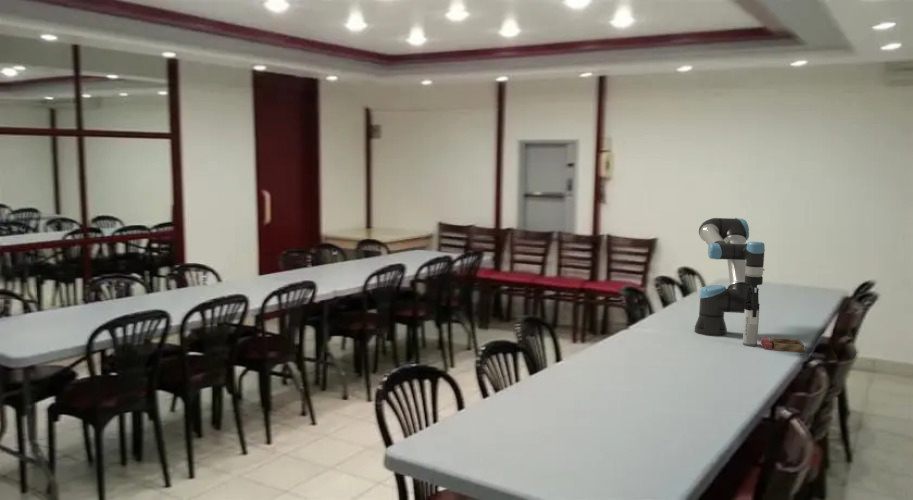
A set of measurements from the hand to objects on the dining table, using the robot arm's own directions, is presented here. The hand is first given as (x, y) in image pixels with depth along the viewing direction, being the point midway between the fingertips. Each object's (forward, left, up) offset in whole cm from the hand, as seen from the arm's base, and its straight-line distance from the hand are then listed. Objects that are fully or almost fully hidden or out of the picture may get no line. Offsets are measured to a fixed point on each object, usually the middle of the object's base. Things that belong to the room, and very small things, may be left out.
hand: (751, 321), depth 328 cm
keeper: (+15, -1, -11) cm, 19 cm away
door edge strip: (+7, -1, -11) cm, 13 cm away
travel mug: (0, 0, -11) cm, 11 cm away
